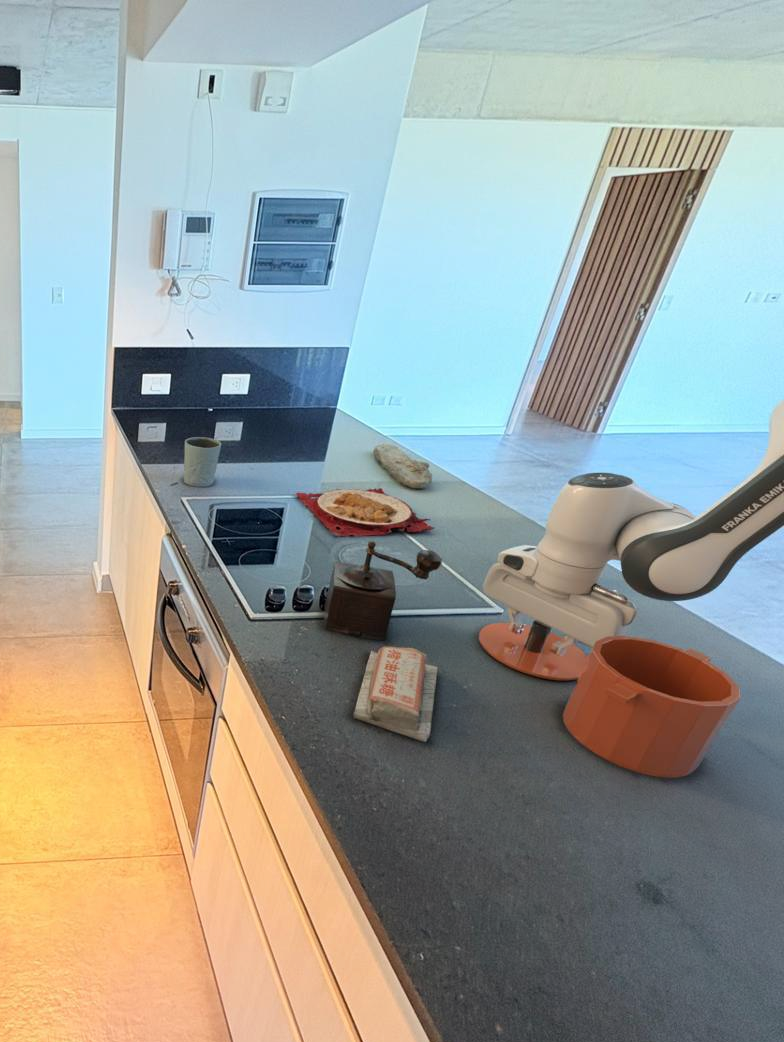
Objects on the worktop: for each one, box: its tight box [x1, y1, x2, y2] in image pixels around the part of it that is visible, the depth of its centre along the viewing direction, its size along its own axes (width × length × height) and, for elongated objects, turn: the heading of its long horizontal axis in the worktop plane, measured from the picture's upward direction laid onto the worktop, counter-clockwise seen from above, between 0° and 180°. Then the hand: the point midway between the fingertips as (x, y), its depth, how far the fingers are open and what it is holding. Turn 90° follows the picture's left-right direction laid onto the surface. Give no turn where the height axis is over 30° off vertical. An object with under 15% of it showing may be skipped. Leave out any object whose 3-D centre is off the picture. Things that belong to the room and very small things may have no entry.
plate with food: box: [295, 487, 436, 537], centre depth 157 cm, size 24×26×4 cm
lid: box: [478, 619, 588, 681], centre depth 104 cm, size 16×16×6 cm
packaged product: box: [353, 645, 438, 743], centre depth 95 cm, size 18×5×10 cm
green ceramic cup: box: [183, 436, 222, 488], centre depth 177 cm, size 10×10×12 cm
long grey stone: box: [372, 443, 433, 489], centre depth 185 cm, size 35×5×10 cm
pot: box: [562, 635, 741, 779], centre depth 85 cm, size 15×20×12 cm
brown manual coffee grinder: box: [323, 540, 443, 641], centre depth 109 cm, size 16×11×18 cm
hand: (535, 642), depth 104 cm, fingers open, 5 cm apart
